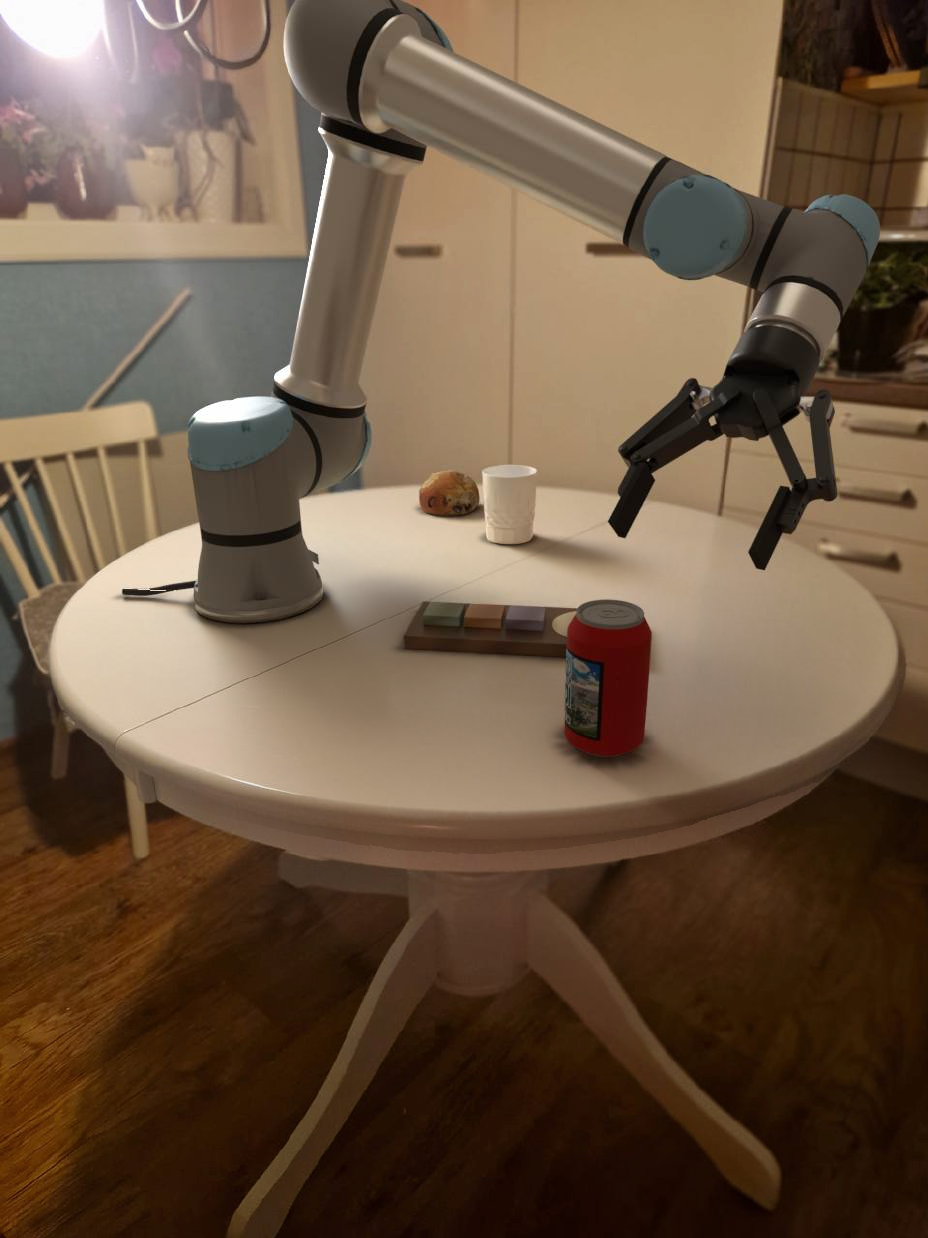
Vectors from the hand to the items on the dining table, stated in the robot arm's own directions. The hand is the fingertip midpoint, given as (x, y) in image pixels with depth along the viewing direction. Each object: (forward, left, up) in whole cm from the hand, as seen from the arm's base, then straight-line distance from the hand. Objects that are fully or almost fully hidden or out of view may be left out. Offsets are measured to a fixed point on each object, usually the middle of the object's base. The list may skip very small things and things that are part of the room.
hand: (682, 545), depth 75 cm
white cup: (-36, +38, -15) cm, 54 cm away
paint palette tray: (-19, +7, -15) cm, 25 cm away
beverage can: (-3, -10, -15) cm, 18 cm away
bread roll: (-52, +48, -15) cm, 72 cm away
